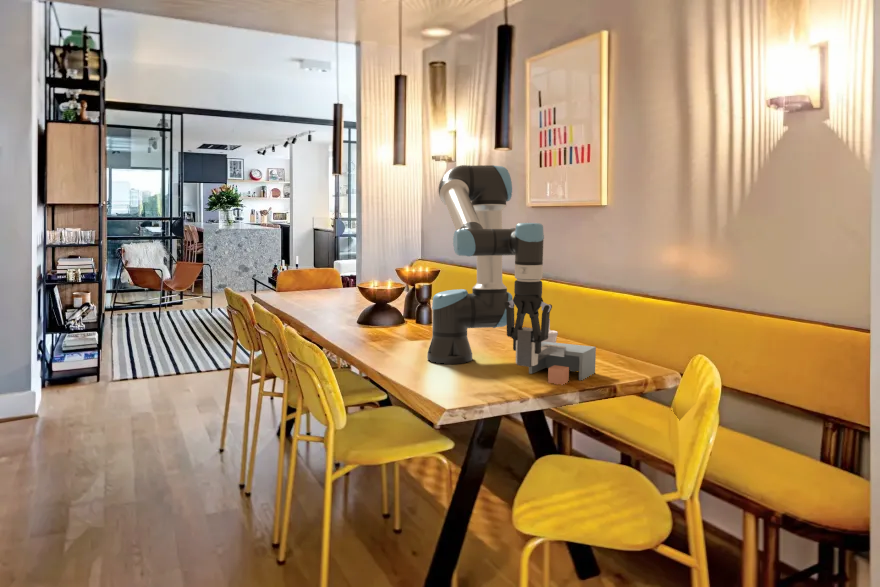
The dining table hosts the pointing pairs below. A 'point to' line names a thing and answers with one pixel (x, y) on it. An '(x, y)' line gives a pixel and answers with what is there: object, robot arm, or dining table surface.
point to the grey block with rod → (525, 348)
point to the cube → (558, 374)
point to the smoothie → (551, 335)
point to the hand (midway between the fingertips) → (526, 363)
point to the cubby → (570, 359)
